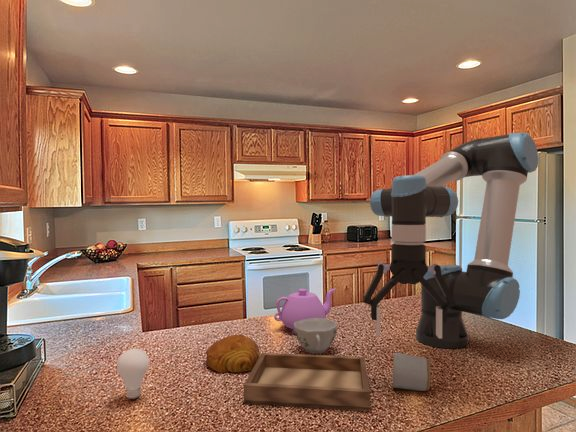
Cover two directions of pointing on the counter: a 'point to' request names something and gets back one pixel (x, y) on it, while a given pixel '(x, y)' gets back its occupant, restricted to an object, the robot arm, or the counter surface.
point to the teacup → (315, 334)
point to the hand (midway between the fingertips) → (408, 335)
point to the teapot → (302, 307)
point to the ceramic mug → (411, 372)
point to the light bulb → (133, 370)
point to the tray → (309, 382)
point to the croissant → (233, 354)
